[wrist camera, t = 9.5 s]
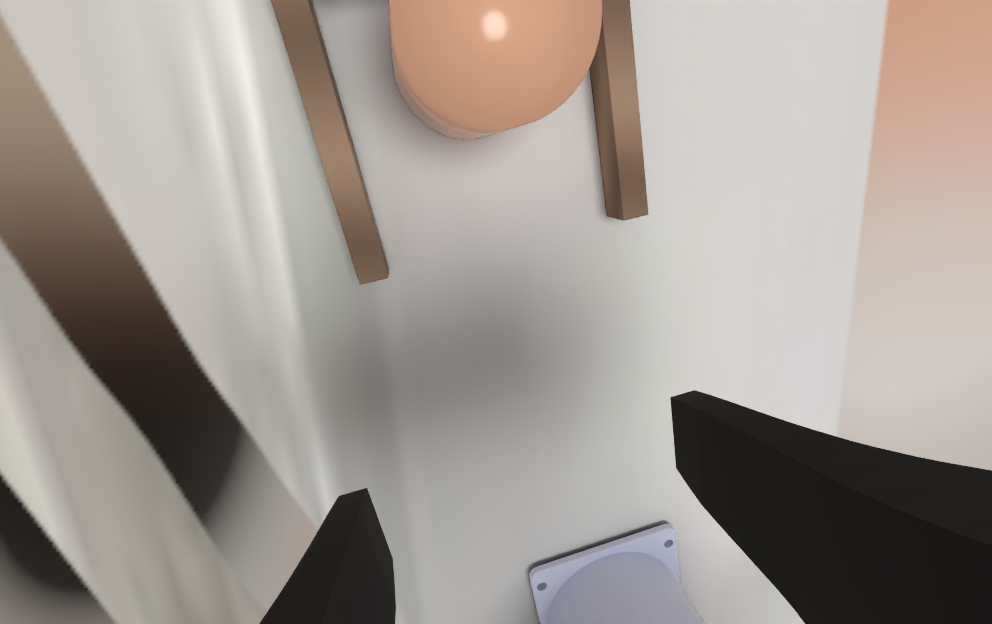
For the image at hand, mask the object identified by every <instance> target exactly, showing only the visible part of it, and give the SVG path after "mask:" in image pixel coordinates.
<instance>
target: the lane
mask: <svg viewBox="0 0 992 624" xmlns="http://www.w3.org/2000/svg"><path fill="white" fill-rule="evenodd" d="M271 2H272V5H273V8H274V12H275V15H276V18H277V21H278V24H279V27H280V31H281V34H282V37H283V40H284V43H285V47H286V50H287V53H288V56H289V59H290V63H291V66H292V69H293V72H294V75H295V79H296V82H297V85H298V88H299V91H300V95H301V98H302V101H303V104H304V107H305V111H306V114H307V117H308V120H309V123H310V127H311V130H312V133H313V136H314V139H315V143H316V146H317V149H318V152H319V155H320V159H321V162H322V165H323V168H324V171H325V174H326V178H327V181H328V184H329V187H330V190H331V194H332V197H333V200H334V203H335V206H336V210H337V213H338V216H339V219H340V222H341V226H342V229H343V232H344V235H345V238H346V242H347V245H348V248H349V251H350V254H351V258H352V261H353V264H354V267H355V270H356V274H357V277H358V280H359V283H360V285H361V284H365V283H369V282H373V281H377V280H382V279H386V278H388V274H389V268H388V264H387V261H386V257H385V254H384V250H383V247H382V243H381V240H380V236H379V233H378V229H377V226H376V222H375V219H374V215H373V212H372V208H371V205H370V201H369V198H368V194H367V191H366V188H365V184H364V181H363V177H362V174H361V170H360V167H359V163H358V160H357V156H356V153H355V149H354V146H353V142H352V139H351V135H350V132H349V128H348V125H347V121H346V118H345V114H344V111H343V107H342V104H341V101H340V97H339V94H338V90H337V87H336V83H335V80H334V76H333V73H332V69H331V66H330V62H329V59H328V55H327V52H326V48H325V45H324V41H323V38H322V34H321V31H320V27H319V24H318V20H317V17H316V14H315V10H314V7H313V3H312V0H271ZM590 74H591V83H592V91H593V100H594V108H595V117H596V125H597V134H598V142H599V151H600V159H601V168H602V176H603V185H604V193H605V202H606V210H607V216H608V217H612V218H616V219H620V220H628V219H632V218H636V217H640V216H644V215H648V206H647V194H646V183H645V172H644V160H643V149H642V137H641V126H640V114H639V103H638V92H637V80H636V69H635V57H634V46H633V35H632V23H631V12H630V0H602V23H601V30H600V36H599V41H598V45H597V49H596V52H595V55H594V58H593V60H592V63H591V65H590Z"/></svg>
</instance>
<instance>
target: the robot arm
mask: <svg viewBox="0 0 992 624" xmlns="http://www.w3.org/2000/svg"><path fill="white" fill-rule="evenodd" d="M671 409H672V421H673V433H674V446H675V458H676V468H677V470H678V471H679V473H680V474H681V476H682V477H683V479H684V480H685V482H686V483H687V485H688V486H689V488H690V489H691V490H692V492H693V493H694V495H695V496H696V497H697V499H698V500H699V502H700V503H701V504H702V506H703V507H704V508H705V509H706V510H707V511H708V512H709V514H710V515H711V516H712V517H713V518H714V519H715V520H716V522H717V523H718V524H719V525H720V526H721V527H722V528H723V529H724V531H725V532H726V533H727V534H728V535H729V536H730V537H731V538H732V539H733V541H734V542H735V543H736V544H737V545H738V546H739V547H740V548H741V549H742V550H743V552H744V553H745V554H746V555H747V556H748V557H749V558H750V559H751V560H752V562H753V563H754V564H755V565H756V566H757V567H758V568H759V569H760V570H761V572H762V573H763V574H764V575H765V576H766V577H767V578H768V579H769V580H770V581H771V583H772V584H773V585H774V586H775V587H776V588H777V589H778V590H779V592H780V593H781V594H782V595H783V596H784V598H785V599H786V600H787V601H788V602H789V604H790V605H791V606H792V607H793V608H794V609H795V611H796V612H797V613H798V615H799V616H800V617H801V619H802V620H803V621H804V623H805V624H992V471H991V470H985V469H979V468H973V467H968V466H962V465H957V464H951V463H945V462H939V461H934V460H930V459H925V458H919V457H915V456H911V455H906V454H902V453H898V452H894V451H889V450H885V449H881V448H876V447H872V446H868V445H864V444H860V443H857V442H853V441H849V440H846V439H842V438H839V437H836V436H832V435H829V434H825V433H822V432H819V431H815V430H812V429H809V428H806V427H802V426H799V425H796V424H793V423H790V422H787V421H784V420H781V419H778V418H775V417H772V416H769V415H766V414H763V413H761V412H758V411H755V410H752V409H749V408H746V407H743V406H740V405H738V404H735V403H732V402H729V401H726V400H723V399H720V398H717V397H714V396H711V395H708V394H705V393H701V392H698V391H691V392H687V393H684V394H681V395H677V396H674V397H671ZM529 579H530V583H531V587H532V592H533V596H534V600H535V604H536V608H537V613H538V617H539V621H540V624H705V623H704V621H703V620H702V618H701V617H700V615H699V614H698V612H697V611H696V609H695V608H694V606H693V605H692V603H691V602H690V600H689V599H688V597H687V596H686V594H685V593H684V591H683V590H682V588H681V582H680V571H679V559H678V548H677V537H676V531H675V529H674V528H673V527H672V526H671V525H670V524H663V525H660V526H657V527H654V528H651V529H648V530H645V531H642V532H639V533H636V534H633V535H630V536H627V537H624V538H621V539H618V540H615V541H612V542H609V543H606V544H603V545H600V546H597V547H594V548H591V549H588V550H585V551H582V552H579V553H576V554H573V555H570V556H567V557H564V558H561V559H558V560H555V561H552V562H549V563H546V564H543V565H540V566H537V567H535V568H533V569H532V570H531V571H530V573H529ZM540 583H541V584H540ZM395 611H396V603H395V585H394V571H393V558H392V555H391V553H390V550H389V547H388V544H387V542H386V539H385V536H384V534H383V531H382V528H381V525H380V523H379V520H378V517H377V514H376V512H375V509H374V506H373V503H372V501H371V498H370V495H369V492H368V490H367V488H365V489H362V490H358V491H355V492H351V493H348V494H345V495H341V496H339V497H338V498H337V500H336V502H335V503H334V505H333V507H332V508H331V510H330V512H329V513H328V515H327V517H326V518H325V520H324V522H323V524H322V525H321V527H320V529H319V530H318V532H317V534H316V536H315V537H314V539H313V541H312V542H311V544H310V546H309V548H308V549H307V551H306V553H305V554H304V556H303V558H302V559H301V561H300V562H299V564H298V565H297V567H296V569H295V570H294V572H293V574H292V575H291V577H290V579H289V581H288V582H287V583H286V585H285V586H284V588H283V590H282V591H281V593H280V594H279V596H278V597H277V599H276V600H275V602H274V603H273V604H272V606H271V608H270V609H269V610H268V612H267V613H266V615H265V616H264V618H263V619H262V621H261V622H260V624H395Z"/></svg>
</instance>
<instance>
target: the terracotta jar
mask: <svg viewBox="0 0 992 624" xmlns="http://www.w3.org/2000/svg"><path fill="white" fill-rule="evenodd" d="M389 8H390V28H391V47H392V64H393V71H394V76H395V80H396V83H397V86H398V89H399V91H400V93H401V95H402V97H403V99H404V101H405V102H406V104H407V106H408V107H409V108H410V110H411V111H412V112H413V114H414V115H415V116H416V117H417V118H418V119H419V120H420V121H421V122H423V123H424V124H425V125H426V126H428V127H429V128H431V129H433V130H434V131H436V132H438V133H440V134H443V135H445V136H448V137H452V138H457V139H477V138H482V137H485V136H489V135H492V134H495V133H499V132H502V131H505V130H509V129H512V128H515V127H519V126H522V125H525V124H528V123H532V122H534V121H536V120H539V119H541V118H543V117H545V116H546V115H548V114H550V113H551V112H553V111H554V110H556V109H557V108H558V107H559V106H561V105H562V104H563V103H564V102H565V101H566V100H567V99H568V98H569V97H570V96H571V95H572V94H573V93H574V92H575V90H576V89H577V87H578V86H579V85H580V83H581V82H582V80H583V79H584V77H585V75H586V73H587V71H588V70H589V68H590V65H591V63H592V60H593V58H594V55H595V52H596V49H597V45H598V41H599V36H600V30H601V23H602V0H389Z"/></svg>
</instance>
